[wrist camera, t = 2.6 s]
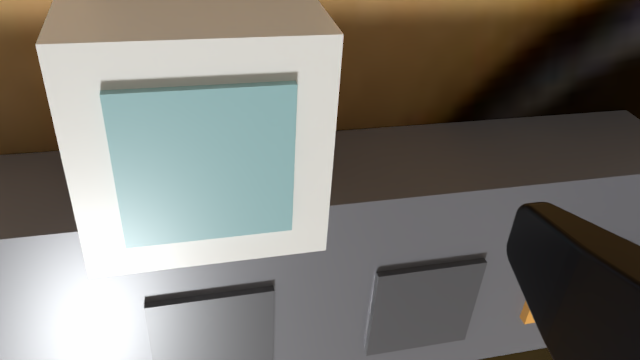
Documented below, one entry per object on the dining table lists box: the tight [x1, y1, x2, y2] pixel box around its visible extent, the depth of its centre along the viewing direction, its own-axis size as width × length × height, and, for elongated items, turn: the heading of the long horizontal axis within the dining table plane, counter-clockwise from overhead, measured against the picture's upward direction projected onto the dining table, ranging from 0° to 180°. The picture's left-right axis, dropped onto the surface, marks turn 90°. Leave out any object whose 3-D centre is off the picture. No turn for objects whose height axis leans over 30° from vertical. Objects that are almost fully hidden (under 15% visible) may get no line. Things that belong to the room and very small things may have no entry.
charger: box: [35, 0, 344, 279], centre depth 13 cm, size 4×7×6 cm
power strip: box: [0, 110, 640, 360], centre depth 17 cm, size 25×7×4 cm, turn 87°
